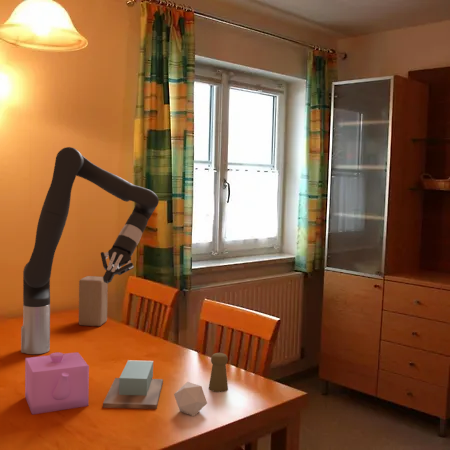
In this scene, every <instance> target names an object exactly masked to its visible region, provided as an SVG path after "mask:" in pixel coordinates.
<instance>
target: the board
mask: <svg viewBox="0 0 450 450" xmlns="http://www.w3.org/2000/svg"><path fill="white" fill-rule="evenodd" d="M119 378H120V377H115V378H114V379H113V382H112V384H111V386H110V388H109V390H108V392H107V394H106V396H105V398H104V400H103V401H102V402H103V403H102V408H104V409H105V408H109V409H110V408H111V409H118V408H119V409H146V410H151V409H153V410H156V409H158V408H157V407H158V404H159V400H160V396H161V393H162V387H163V384H164V379H163V378H152V381H151V384H150V387H149V390H148V393H147V396H144V395H119Z"/></svg>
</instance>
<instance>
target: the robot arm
mask: <svg viewBox="0 0 450 450" xmlns="http://www.w3.org/2000/svg"><path fill="white" fill-rule="evenodd" d="M76 177H79V178H81V179H84V180H86V181H88V182H90V183H92V184H94V185H96V186H97V187H98V188H101V189H102V190H104V191H105V192H107V193H109V194H111V195H112V196H114V197H115V198H117V199H119V200H121V201H124V202H130V201H131V202H134V203H135V205H134V207H133V210H132V213H131V214H130V215H129V216H128V218H127V220H126V221H125V223H124V226H123V227H122V228H121V230H120V232H119V233H118V235H117V237H116V238H115V241H114V242H113V245H112V247H111V248H110V249H108V251H105V252H104V251H101V252H100V257H101V261H102V266H103V269H104V270H105V272H104V274H103V275H102V277H103V281H104V282H105V283H108V284H109V283H111V282H112V280H113V279H114V277H115V275H118V276H121V275H123V274H125V273H127V272H129V271H130V270H133V269H134V268H135V267H134V264H133V262H132V261H131V260H132V256H133V255H134V253H135V250H136V248H137V246H138V244H139V243H140V240H141V238H142V236H143V233H144V232H145V230H146V228H147V225H148V223H149V220H150V218H151V217H152V215H153V213H154V211H155V210H156V208H157V207H158V205H159V203H160V199H159V197H158V195H157V194H156V193H155V192H154V191H153V190H151V189H148V188H146V187H143V186H139V185H135V184H134V183H131V182H130V181H128V180H126V179H124V178H122V177H120V176H118V175H116V174H114V173H112V172H110V171H108V170H106V169H103V168H101V167H100V166H98V165H96V164H95V163H93V162H91V160H89V159H88V158H86V157H85V156H84V155H83V154H82V153H81V152H80V151H79V150H78V149H76V148H74V147H71V146H67V147H64V148H62V149H60V150H59V151H58V152H57V154H56V156H55V162H54V168H53V173H52V177H51V182H50V185H49V188H48V191H47V193H46V195H45V199H44V202H43V205H42V207H41V211H40V215H39V217H38V222H37V225H36V232H35V241H34V247H33V250H32V252H31V256H30V258H29V261H28V262H27V263H26V264H25V266H23V267H24V268H23V271H22V272H23V273H22V275H23V276H22V277H23V279H22V283H23V284H22V289H23V290H22V294H23V295H22V302H23V304H22V308H23V309H22V313H23V316H22V318H23V319H22V321H23V322H22V326H20V327H21V329H20V337H21V338H20V344H21V345H20V353H23V354H27V355H41V354H46V353H48V352H49V351H50V350H51V349H50V347H51V341H50V340H51V276H52V269H53V262H54V257H55V253H56V250H57V247H58V245H59V242H60V240H61V237H62V235H63V232H64V229H65V228H66V227H65V226H66V223H67V219H68V215H69V212H70V211H69V210H70V206H71V197H72V196H71V195H72V189H73V186H74V183H75V180H76ZM107 259H109V262H108V263H107Z"/></svg>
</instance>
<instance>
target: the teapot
mask: <svg viewBox="0 0 450 450" xmlns="http://www.w3.org/2000/svg"><path fill="white" fill-rule="evenodd" d="M24 359H25V360H24V362H25V365H24V366H25V369H24V371H25V375H24V376H25V377H24V378H25V379H24V381H25V384H24V385H25V386H24V387H25V390H24V391H25V392H24V393H25V394H24V396H25V400H26V402H27V404H28V405H27V406H28V407H29V410H30V413H31V415H38V414H44V413H51V412H58V411H62V410H70V409H78V408H83V407H88V406H89V390H90V389H89V387H90V386H89V384H90V383H89V381H90V380H89V379H90V376H89V375H90V374H89V373H90V365H89V364H87V362H86V360H84V359H85V358H83V357H82V355H81V354H80V353H79V352H68V353H63V352H52V353H50V354H49V355H41V356H40V355H39V356H33V357H25V358H24Z"/></svg>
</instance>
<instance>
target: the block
mask: <svg viewBox="0 0 450 450" xmlns="http://www.w3.org/2000/svg"><path fill="white" fill-rule="evenodd" d="M108 285H109V283H105V282H104V281H103V276H95V275H93V276H92V275H87V276H85V277H82V278H81V279H79V281H78V325H80V326H84V327H85V326H90V327H101V326H102V325H104V324H105V323H106V322H107V320H108V293H109V292H108V291H109V290H108V288H109V286H108Z"/></svg>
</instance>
